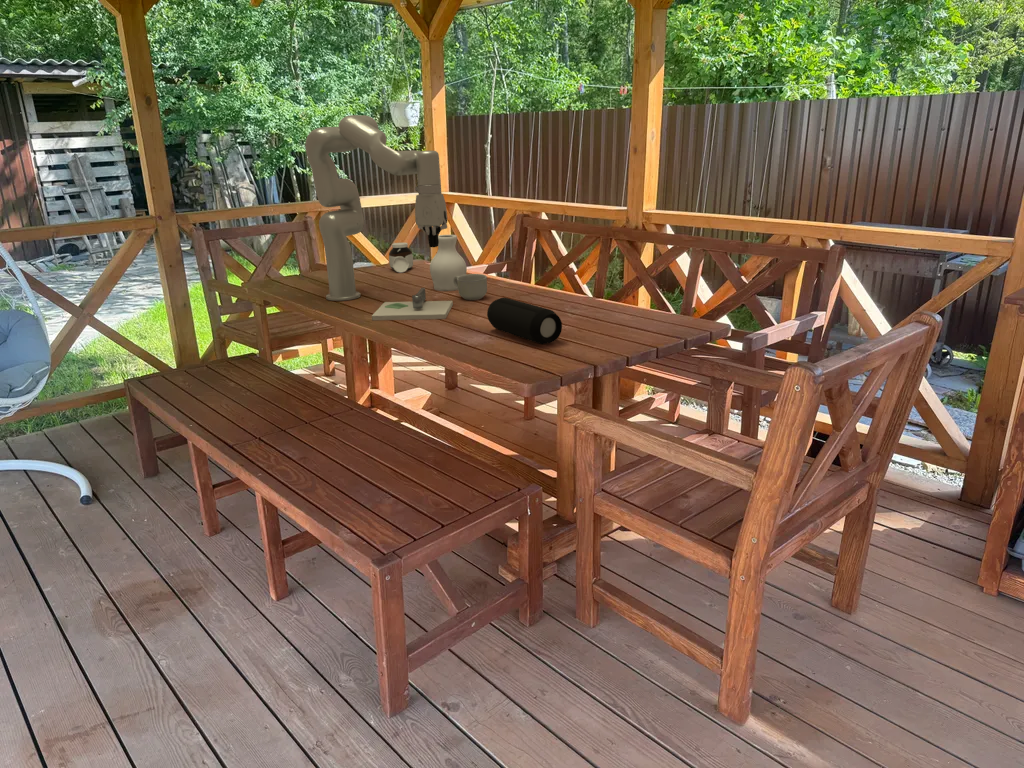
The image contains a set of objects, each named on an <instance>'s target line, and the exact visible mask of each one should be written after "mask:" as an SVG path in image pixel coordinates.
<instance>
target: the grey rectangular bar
mask: <svg viewBox="0 0 1024 768" xmlns="http://www.w3.org/2000/svg"><path fill="white" fill-rule="evenodd" d="M411 298H412V299H411V300H412V301H411V302H413V308H414V309H420V308H423V305H422V304H423V302H424V301H426V300H427V298H426V287H421V288H420V289H419V290H418V291H417V293H416V294H414V295H412V296H411Z"/></svg>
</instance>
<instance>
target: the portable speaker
mask: <svg viewBox="0 0 1024 768" xmlns="http://www.w3.org/2000/svg"><path fill="white" fill-rule="evenodd" d="M486 316H487V320H488V321H489V323H490V324H491V326H492V327H493V328H494V329H495V330H498V331H501V332H503V333H507V334H510V335H513V336H515V337H518V338H521V339H525V340H528V341H530V342H534V343H536V344H540V345H545V344H551V343H554V342H555V341H556V340H557V339H558V338H559V337H560V335H561V333H562V331H563V322H562V319H561V318H560V316H558V314H557V313H556V312H555V311H553V310H552V309H549V308H545V307H542V306H537V305H534V304H530V303H527V302H524V301H519V300H515V299H512V298H508V297H500V298H497V299H495V300H493V301H492V302H491V303H490V304H489V306H488V308H487V315H486Z"/></svg>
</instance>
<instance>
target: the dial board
mask: <svg viewBox="0 0 1024 768" xmlns="http://www.w3.org/2000/svg"><path fill="white" fill-rule="evenodd" d="M422 305H423V308H420V309H414V308H413V302H412V301H385V302H383V303H382V304H381V305H380V306H379V308H377V310H376V311H374V313H373V314H372V315H371V321H402V320H403V321H407V320H409V321H411V320H446V318H447V317H448V314H449V313H450V311H451V309H452V307H453V305H454V304H453V300H433V301H432V300H429V301H427V300H425V301H424V302H423V304H422Z"/></svg>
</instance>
